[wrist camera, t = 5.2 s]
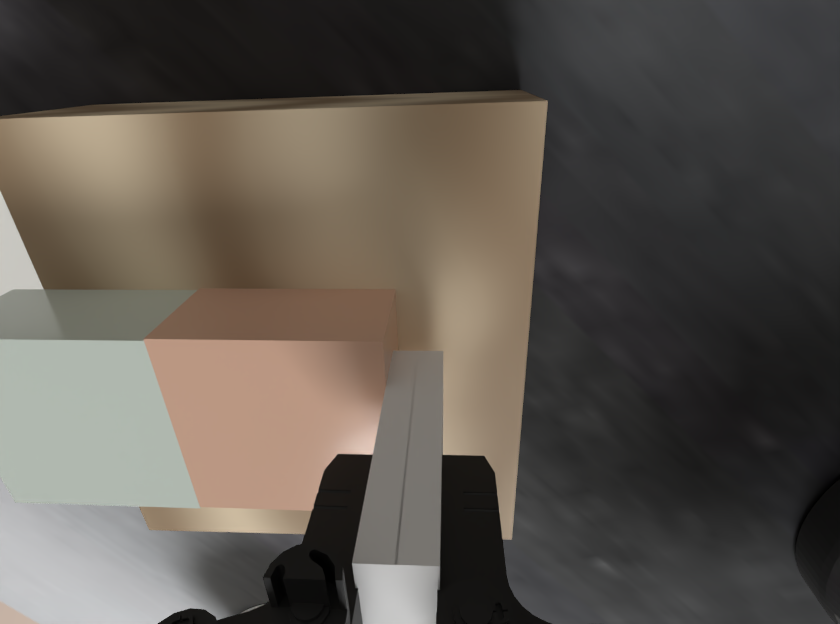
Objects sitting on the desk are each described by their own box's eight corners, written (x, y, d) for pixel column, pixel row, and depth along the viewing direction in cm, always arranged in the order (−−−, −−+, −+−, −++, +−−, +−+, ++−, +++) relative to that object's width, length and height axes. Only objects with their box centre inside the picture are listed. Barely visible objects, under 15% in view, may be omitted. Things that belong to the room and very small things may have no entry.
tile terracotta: (395, 289, 14) (383, 341, 12) (403, 442, 17) (394, 513, 14) (199, 288, 15) (143, 338, 12) (238, 438, 17) (200, 507, 15)
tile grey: (199, 290, 15) (144, 340, 12) (238, 440, 17) (200, 508, 15) (13, 289, 15) (-82, 338, 12) (80, 436, 18) (15, 502, 15)
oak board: (520, 89, 16) (547, 100, 12) (500, 449, 23) (511, 539, 19) (94, 104, 17) (-31, 120, 13) (203, 445, 24) (149, 530, 20)
